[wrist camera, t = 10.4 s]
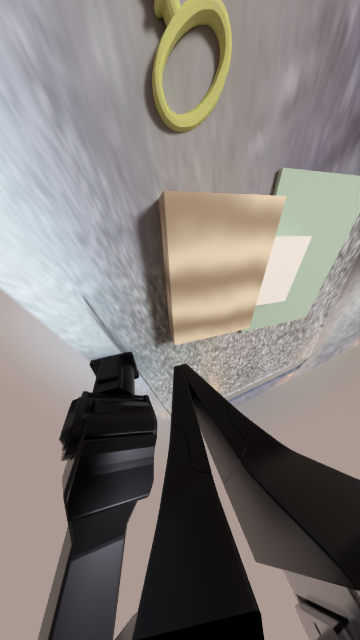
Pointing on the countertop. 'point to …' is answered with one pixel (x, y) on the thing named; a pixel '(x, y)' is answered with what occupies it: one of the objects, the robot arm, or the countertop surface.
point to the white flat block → (282, 268)
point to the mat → (311, 220)
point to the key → (178, 20)
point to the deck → (215, 259)
